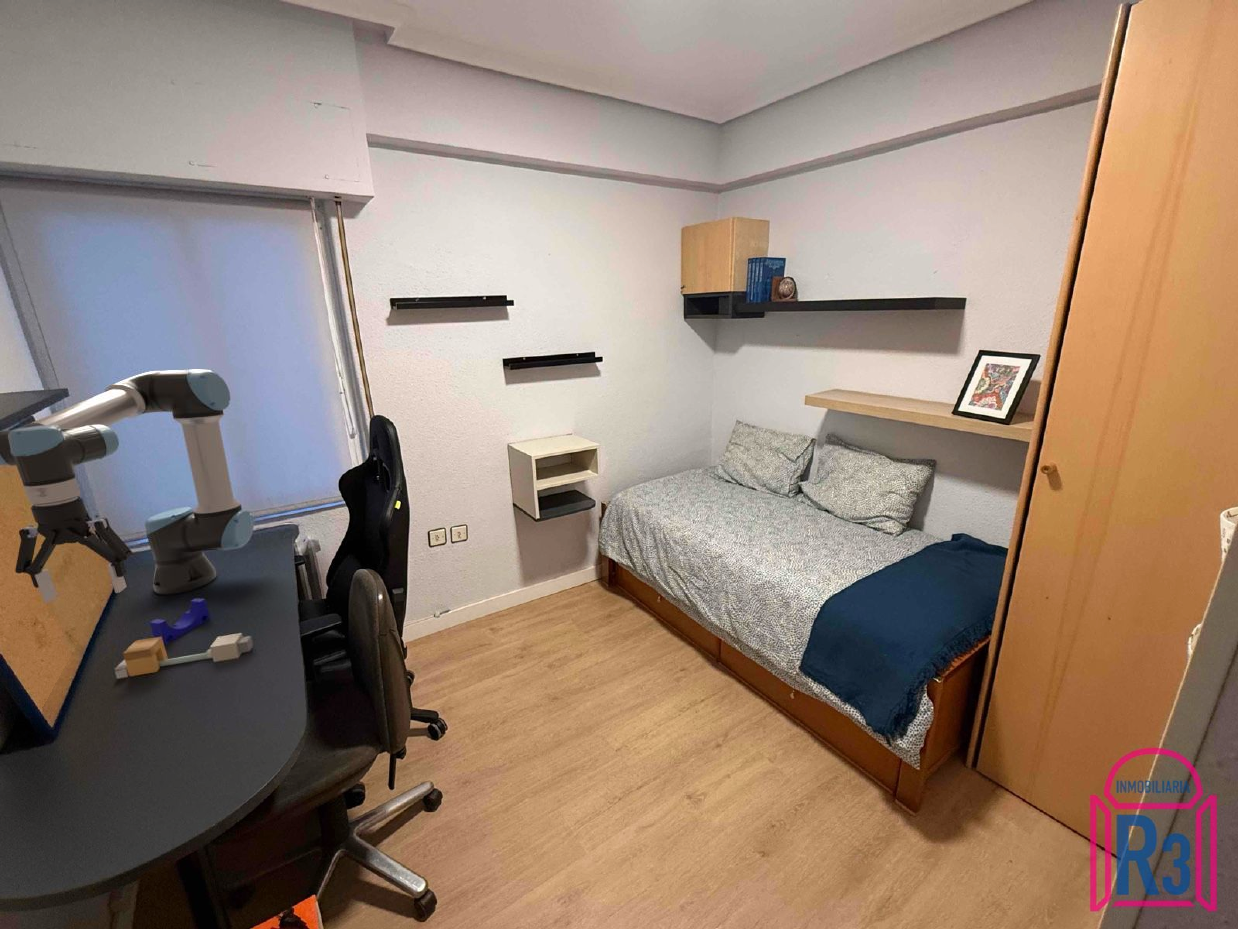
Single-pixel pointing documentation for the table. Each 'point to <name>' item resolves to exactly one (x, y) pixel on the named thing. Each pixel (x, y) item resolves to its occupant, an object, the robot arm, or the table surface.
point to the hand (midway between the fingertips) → (86, 594)
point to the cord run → (218, 651)
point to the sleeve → (145, 656)
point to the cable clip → (181, 622)
